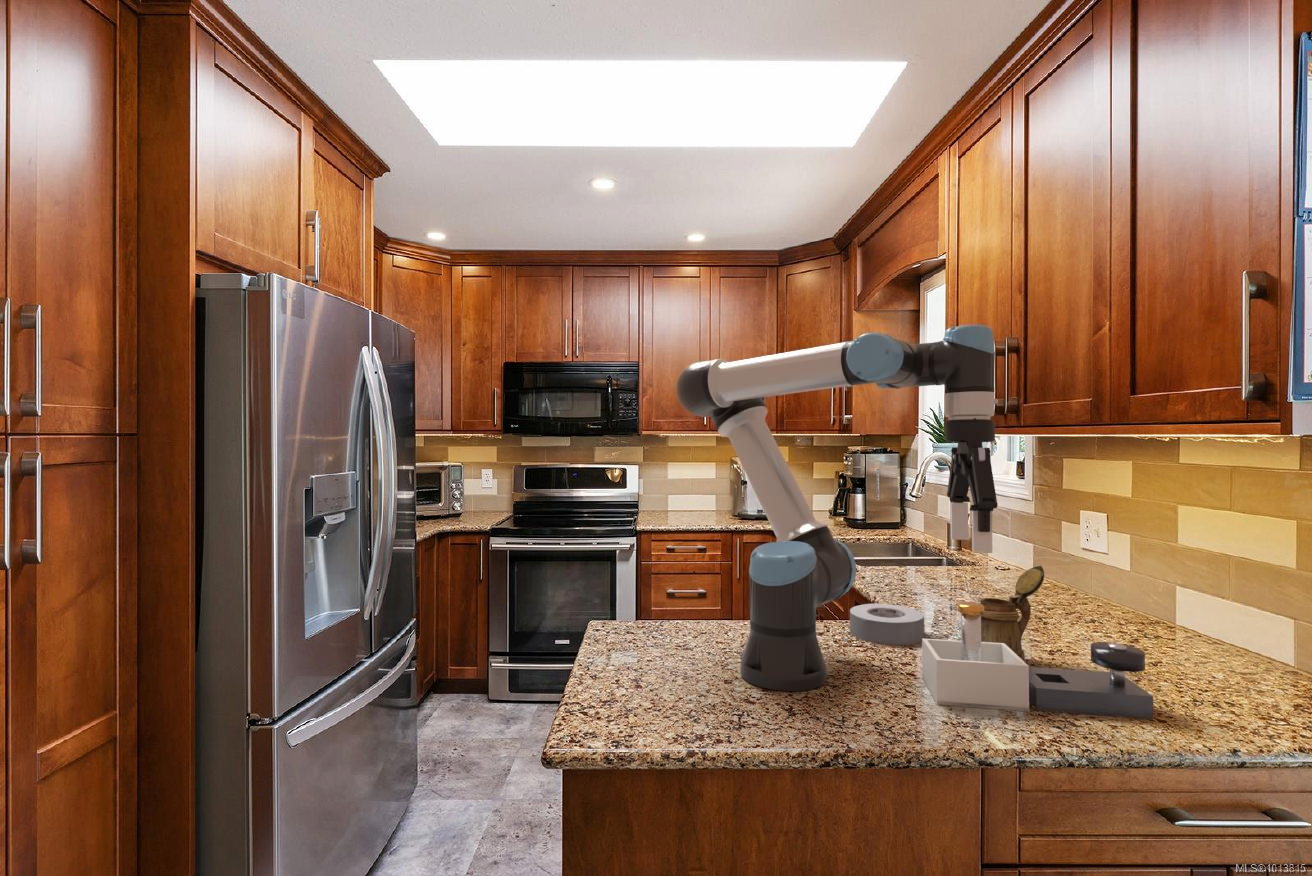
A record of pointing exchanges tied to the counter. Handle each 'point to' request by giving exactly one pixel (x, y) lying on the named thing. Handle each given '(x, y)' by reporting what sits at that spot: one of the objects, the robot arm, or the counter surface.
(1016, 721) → the counter surface
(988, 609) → the wooden mug
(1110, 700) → the block
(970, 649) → the pin
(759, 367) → the robot arm
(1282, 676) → the counter surface
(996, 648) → the parts bin
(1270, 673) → the counter surface
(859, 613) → the tape roll
